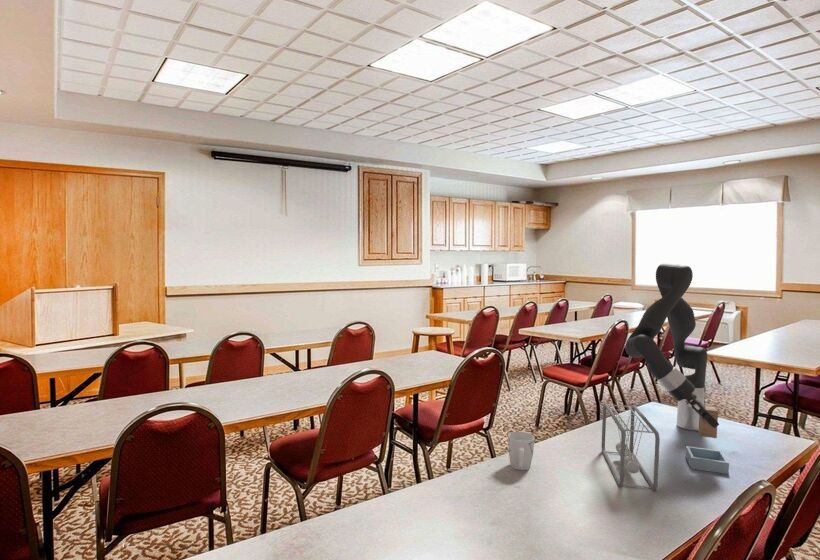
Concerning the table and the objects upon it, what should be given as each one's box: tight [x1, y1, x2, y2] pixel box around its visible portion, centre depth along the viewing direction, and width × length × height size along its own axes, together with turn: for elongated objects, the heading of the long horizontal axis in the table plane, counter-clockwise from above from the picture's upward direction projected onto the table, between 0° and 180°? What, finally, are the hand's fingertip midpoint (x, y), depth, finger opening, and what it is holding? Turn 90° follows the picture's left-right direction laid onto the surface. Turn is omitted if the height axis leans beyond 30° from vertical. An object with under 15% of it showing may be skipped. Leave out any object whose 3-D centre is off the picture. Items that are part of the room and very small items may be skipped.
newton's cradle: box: [601, 402, 661, 491], centre depth 158 cm, size 30×10×18 cm, turn 169°
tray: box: [685, 445, 730, 475], centre depth 164 cm, size 11×11×4 cm
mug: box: [507, 431, 535, 471], centre depth 158 cm, size 11×8×10 cm
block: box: [698, 405, 719, 439], centre depth 163 cm, size 4×4×9 cm
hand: (714, 423), depth 162 cm, fingers closed on block, 4 cm apart
